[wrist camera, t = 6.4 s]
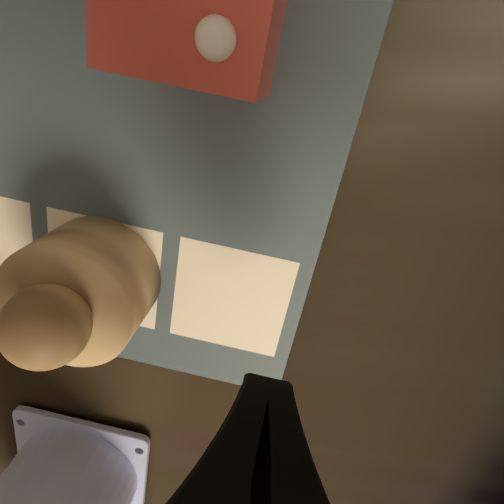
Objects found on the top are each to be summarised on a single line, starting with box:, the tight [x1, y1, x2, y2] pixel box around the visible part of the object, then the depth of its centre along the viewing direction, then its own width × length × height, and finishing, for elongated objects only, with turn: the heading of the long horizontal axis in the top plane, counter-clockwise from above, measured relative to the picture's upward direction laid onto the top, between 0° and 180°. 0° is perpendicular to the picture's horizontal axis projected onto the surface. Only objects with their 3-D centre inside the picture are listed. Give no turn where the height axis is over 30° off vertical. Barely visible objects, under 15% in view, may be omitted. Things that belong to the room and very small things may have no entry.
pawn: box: [0, 216, 161, 371], centre depth 13 cm, size 5×5×5 cm
